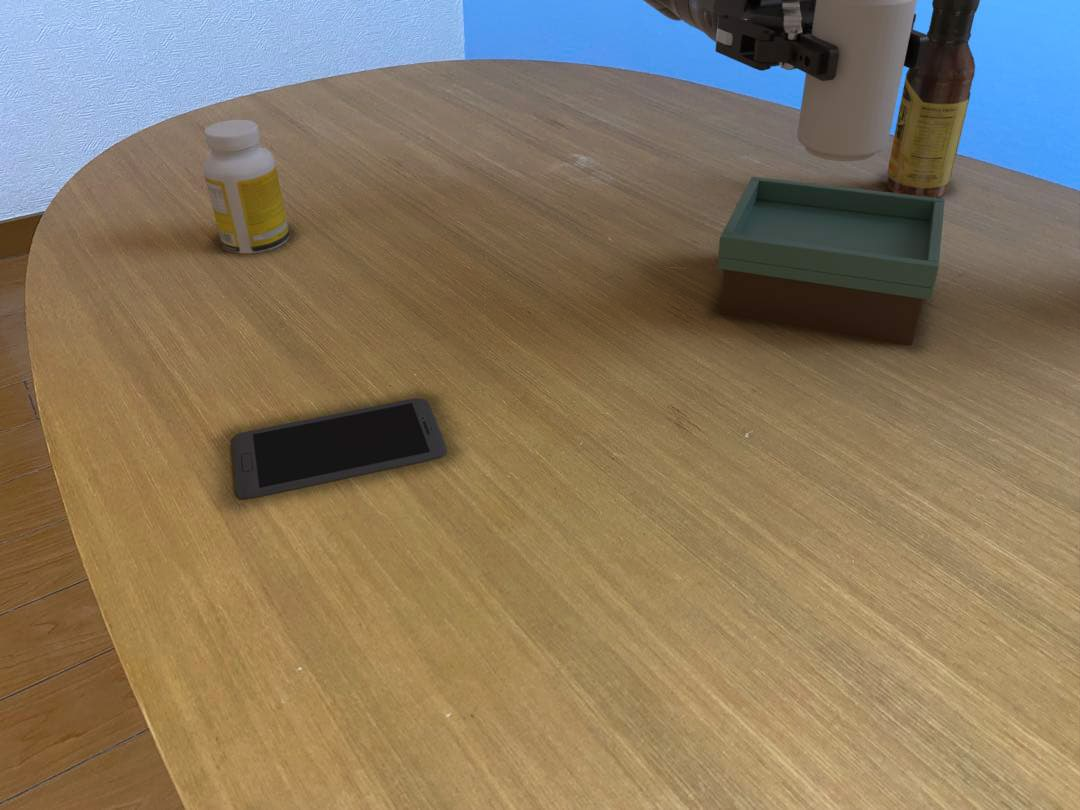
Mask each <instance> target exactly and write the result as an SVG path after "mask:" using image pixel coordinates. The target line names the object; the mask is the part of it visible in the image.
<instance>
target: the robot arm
mask: <svg viewBox="0 0 1080 810" xmlns="http://www.w3.org/2000/svg"><path fill="white" fill-rule="evenodd" d="M642 1H643V2H644V3H646V4H647V5H649V6H650V7H652V8H653V9H654V10H656V11H657V12H658V13H660V14H661V15H662V16H664V17H666V18H668V19H669V20H672V21H675V22H680V21H683V22H684V23H685V24H687V25H689V26H690V27H692V28H694V29H697V30H699V31H700V32H703V34H705V35H706V36H707V37H708V38H709V39H710V40H712V41H713V42H714V43H715V53H717V54H721V55H722V56H725V57H726V58H729V59H731V60H734V61H736V62H737V63H741V64H743V65H745V66H748V67H750V68H751V69H754V70H758V71H761V72H762V71H764V72H765V71H766V70H767V71H768V70H770V69H771V68H772V67H780V68H781V69H783V70H786V71H792V70H796V69H797V70H799V71H801V72H803V73H805V74H806V73H807V74H809V75H811V76H813V77H815V78H817V79H819V80H821V81H828V80H833V79H834V78H835V76H836V71H837V64H838V58H839V49H838V47H837V46H835V45H833V44H831V43H829V42H826V41H824V40H821V39H819V38H817V37H815V36H813V35H812V28H813V21H814V14H815V7H816V0H642ZM916 19H917V14H916V13H914V17H913V22H912V27H911V32H910V37H909V42H908V47H907V52H906V57H905V62H904V67H906V68H908V69H909V68H910V69H914V68H921V67H922V66H923V65H924V63H925V58H926V54H927V49H928V44H929V38H928V36H927V33H924V32H921V31H918V30H916V29H914V26H915V22H916Z"/></svg>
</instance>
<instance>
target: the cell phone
mask: <svg viewBox="0 0 1080 810" xmlns="http://www.w3.org/2000/svg"><path fill="white" fill-rule="evenodd" d="M230 447H231V460H232V472H233V484H234V492H235V494H236V497H237V499H238V500H241V501H245V500H252V499H259V498H262V497H267V496H272V495H278V494H282V493H287V492H291V491H295V490H301V489H305V488H310V487H314V486H318V485H319V486H320V485H324V484H328V483H333V482H339V481H343V480H347V479H352V478H356V477H361V476H366V475H371V474H375V473H380V472H384V471H390V470H393V469H399V468H403V467H408V466H412V465H413V466H414V465H417V464H422V463H426V462H431V461H434V460H438V459H441V458H444V457H445V456H446V455H447V453H448V449H447V444H446V443H445V440H444V437H443V435H442V432H441V430H440V427H439V424H438V422H437V420H436V417H435V415H434V412H433V409H432V407H431V405H430V402H428V400H427V399H425V398H420V397H413V398H409V399H404V400H399V401H393V402H388V403H384V404H379V405H372V406H368V407H363V408H357V409H354V410H348V411H343V412H338V413H333V414H328V415H323V416H318V417H313V418H307V419H302V420H298V421H291V422H287V423H283V424H277V425H272V426H268V427H261V428H257V429H252V430H247V431H242V432H238V433H236V434H235V435H234V436H233V437H232V438H231V445H230Z"/></svg>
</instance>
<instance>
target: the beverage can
mask: <svg viewBox="0 0 1080 810" xmlns="http://www.w3.org/2000/svg"><path fill="white" fill-rule="evenodd" d="M917 3H918V0H816V7H815V14H814V21H813V28H812V35H813V36H815V37H817V38H819V39H821V40H824V41H826V42H829V43H831V44H833V45H835V46H837V47H838V49H839V58H838V64H837V71H836V76H835V78H834V79H833V80H828V81H821V80H819V79H817V78H815V77H813V76H811V75H809V74H807V73H805V76H804V77H805V78H804V85H803V91H802V99H801V105H800V113H799V120H798V125H797V133H796V136H797V140H798V142H799V143H800V144H801V145H802V146H803V147H805V150H806V152H807V153H809V154H810V155H811V156H814V157H817V158H819V159H824V160H827V161H835V162H858V161H863V160H867V159H870V158H872V157H873V156H875V155H876V154H877V153H880V152H882V151H883V150H884V149H885V148H887V146H888V144H889V141H890V136H891V131H892V126H893V121H894V115H895V111H896V105H897V101H898V96H899V92H900V88H901V87H900V85H901V81H902V78H903V77H902V76H903V73H904V67H905V66H904V62H905V57H906V52H907V47H908V42H909V37H910V32H911V27H912V22H913V17H914V13H915V12H916V7H917ZM915 14H916V13H915Z"/></svg>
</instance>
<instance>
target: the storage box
mask: <svg viewBox="0 0 1080 810" xmlns="http://www.w3.org/2000/svg"><path fill="white" fill-rule="evenodd" d="M945 202H946V199H945V198H940V197H938V198H933V197H925V196H916V195H907V194H899V193H891V192H889V191H883V190H882V191H880V190H873V189H864V188H855V187H847V186H846V187H845V186H837V185H828V184H821V183H811V182H804V181H795V180H787V179H777V178H769V177H761V176H751V177H750V179H749V181H748V183H747V185H746V186H745V189H744V190H743V192H742V195H741V196H740V198H739V200H738V202H737V203H736V206H735V208H734V210H733V212H732V214H731V215H730V217H729V219H728V221H727V222H726V225H725V227H724V229H723V230H722V233H721V235H720V236H719V244H718V245H719V246H718V256H717V266H716V268H717V269H718V270H723V279H722V289H721V299H720V308H719V315H722V316H728V317H735V318H741V319H747V320H753V321H758V322H765V323H772V324H777V325H784V326H790V327H797V328H802V329H807V330H814V331H819V332H826V333H832V334H840V335H845V336H850V337H858V338H864V339H869V340H870V339H871V340H876V341H881V342H886V343H887V342H888V343H894V344H899V345H900V344H901V345H907V346H913V344H914V343H913V342H914V339H915V334H916V330H917V326H918V322H919V319H920V313H921V309H922V306H923V301H924V300H927V301H931V300H932V296H933V292H934V287H935V285H936V280H937V277H938V276H937V275H938V272H939V269H940V258H941V246H942V237H943V224H944V215H945V213H944V212H945Z"/></svg>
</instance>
